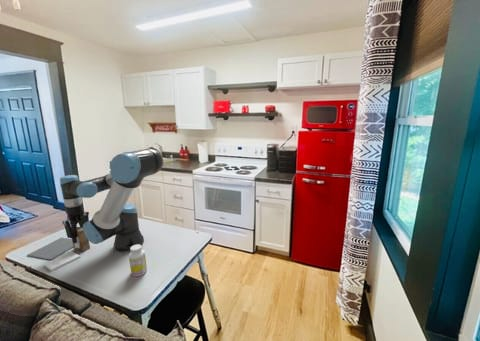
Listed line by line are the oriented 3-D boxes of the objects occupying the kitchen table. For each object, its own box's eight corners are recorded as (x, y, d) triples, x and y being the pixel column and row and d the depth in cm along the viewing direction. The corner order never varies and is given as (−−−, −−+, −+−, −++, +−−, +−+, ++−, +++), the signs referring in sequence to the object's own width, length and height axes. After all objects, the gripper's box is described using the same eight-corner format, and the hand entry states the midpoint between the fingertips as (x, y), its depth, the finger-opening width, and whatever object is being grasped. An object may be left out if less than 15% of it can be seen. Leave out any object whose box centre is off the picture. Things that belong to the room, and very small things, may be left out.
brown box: (90, 247, 126) (86, 227, 123) (84, 251, 123) (80, 231, 120) (80, 246, 128) (76, 226, 125) (74, 249, 124) (69, 229, 122)
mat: (83, 241, 132) (83, 240, 132) (51, 260, 115) (50, 259, 115) (61, 238, 136) (61, 237, 136) (27, 255, 119) (27, 254, 119)
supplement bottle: (139, 266, 110) (136, 241, 107) (150, 269, 108) (147, 244, 105) (127, 274, 104) (124, 249, 101) (139, 278, 102) (135, 252, 99)
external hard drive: (80, 258, 118) (51, 272, 107) (72, 253, 122) (43, 266, 111) (80, 255, 117) (50, 269, 107) (71, 251, 121) (43, 263, 111)
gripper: (82, 198, 128) (89, 236, 133) (51, 210, 112) (60, 253, 118) (93, 199, 126) (99, 238, 132) (63, 211, 110) (72, 255, 116)
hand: (81, 245), depth 125 cm, fingers closed on brown box, 4 cm apart
